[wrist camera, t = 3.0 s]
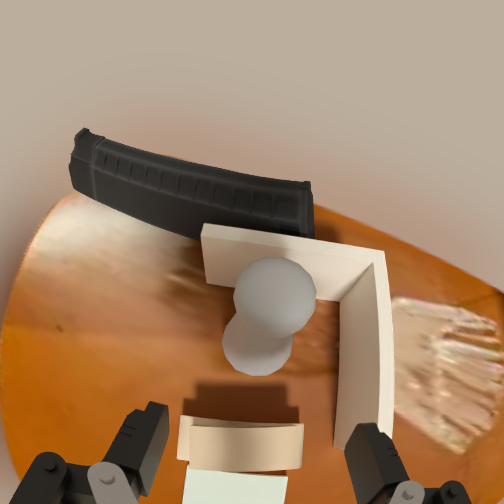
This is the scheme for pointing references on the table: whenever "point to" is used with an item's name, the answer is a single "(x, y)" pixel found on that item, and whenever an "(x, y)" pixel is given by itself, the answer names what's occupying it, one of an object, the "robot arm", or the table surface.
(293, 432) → the offcut short
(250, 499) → the tile
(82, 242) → the table surface
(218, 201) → the magazine
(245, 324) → the salt shaker
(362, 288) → the bracket
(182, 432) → the block
